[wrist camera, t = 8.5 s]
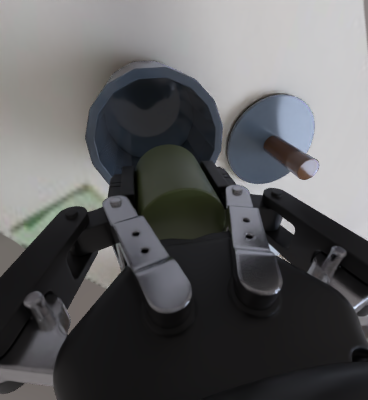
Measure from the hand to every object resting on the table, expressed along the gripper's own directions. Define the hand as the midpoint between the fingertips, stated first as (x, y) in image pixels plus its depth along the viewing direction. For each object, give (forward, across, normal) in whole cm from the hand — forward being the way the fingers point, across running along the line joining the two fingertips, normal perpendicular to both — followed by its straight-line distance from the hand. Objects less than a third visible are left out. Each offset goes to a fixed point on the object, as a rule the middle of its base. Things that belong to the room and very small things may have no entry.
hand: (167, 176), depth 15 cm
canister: (+15, 0, 0) cm, 15 cm away
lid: (+15, -17, +4) cm, 23 cm away
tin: (0, 0, 0) cm, 0 cm away
